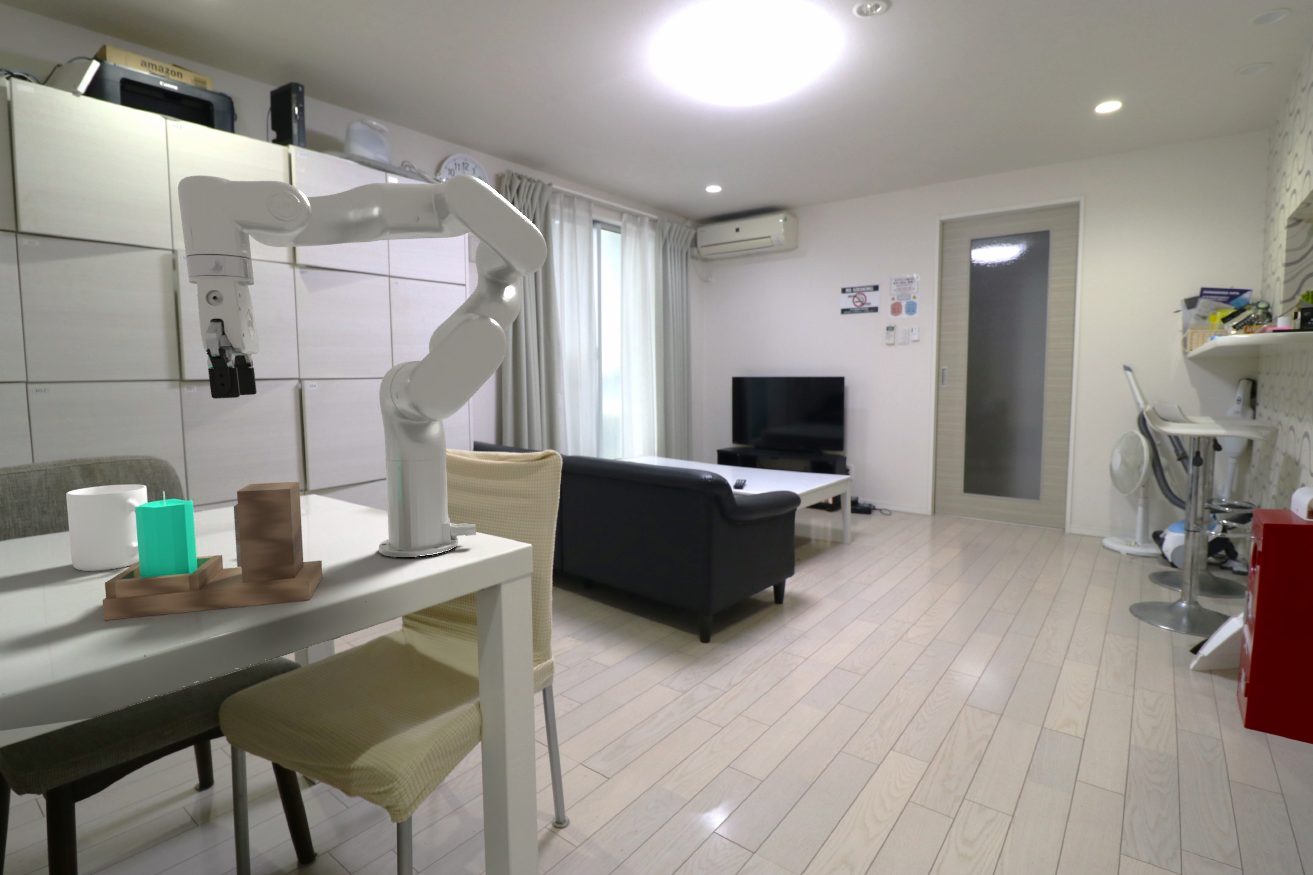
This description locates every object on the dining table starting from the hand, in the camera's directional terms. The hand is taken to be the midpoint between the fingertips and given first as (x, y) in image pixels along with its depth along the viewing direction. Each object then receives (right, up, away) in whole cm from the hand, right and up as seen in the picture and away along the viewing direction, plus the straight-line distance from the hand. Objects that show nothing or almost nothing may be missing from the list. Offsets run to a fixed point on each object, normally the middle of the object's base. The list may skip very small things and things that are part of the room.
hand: (235, 396), depth 90 cm
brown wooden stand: (+2, -27, -6) cm, 28 cm away
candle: (-3, -25, -8) cm, 26 cm away
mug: (-24, -26, +10) cm, 37 cm away
